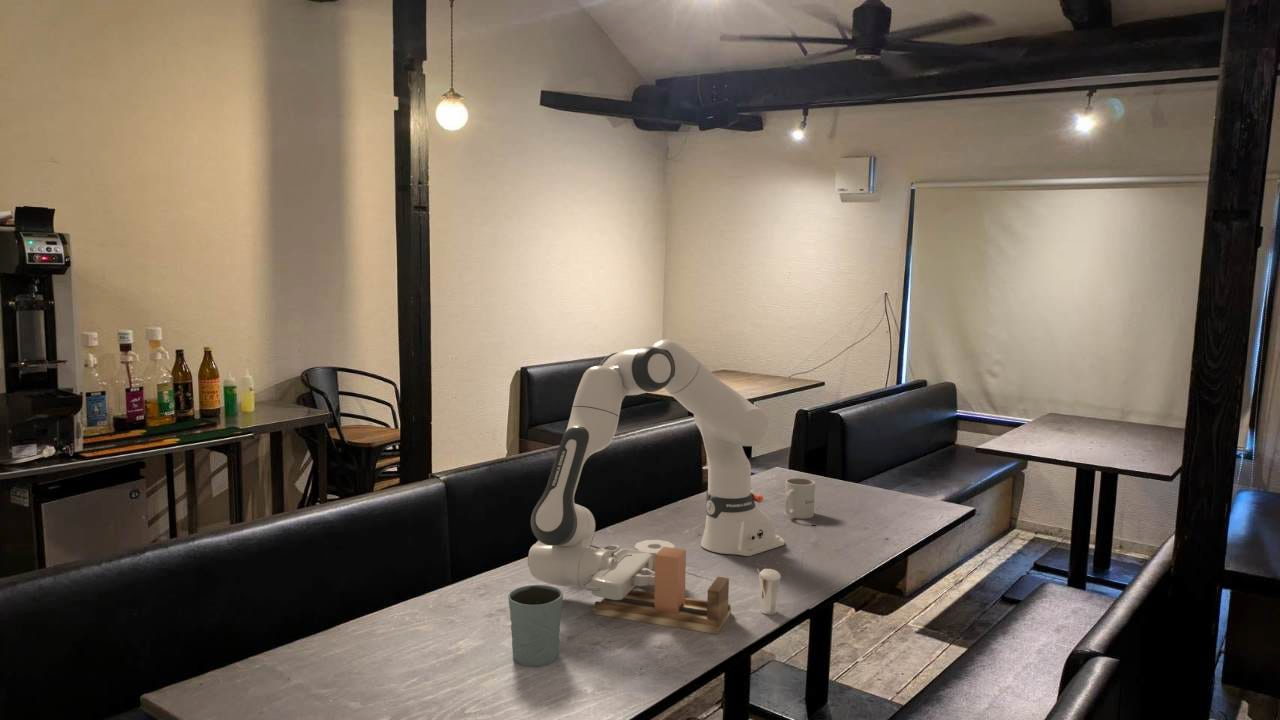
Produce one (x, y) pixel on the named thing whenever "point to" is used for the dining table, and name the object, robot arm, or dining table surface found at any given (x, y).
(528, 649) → the green cup
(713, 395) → the robot arm
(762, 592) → the milkshake
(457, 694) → the dining table surface
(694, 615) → the channel
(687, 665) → the dining table surface
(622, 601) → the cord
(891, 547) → the dining table surface
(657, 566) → the panel
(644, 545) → the toilet tissue
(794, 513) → the mug
